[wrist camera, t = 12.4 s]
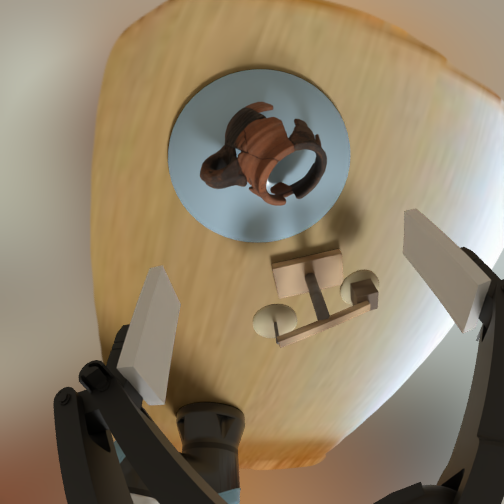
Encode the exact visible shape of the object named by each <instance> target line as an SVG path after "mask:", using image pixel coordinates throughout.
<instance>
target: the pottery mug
mask: <svg viewBox="0 0 504 504" xmlns="http://www.w3.org/2000/svg"><path fill="white" fill-rule="evenodd" d="M269 110H273V105H271V104H268V103H265V102H256V103H252V104H250V105H248V106H246V107H244V108H242V109H241V110H239V111H238V112H237V113H236V114H235V115H234V116H233V117H232V118H231V120H230V121H229V123H228V125H227V129H226V132H225V145H224V146H223V147H222V148H221V149H220V150H219V151H217V152H216V153H214V154H213V155H211V156H209V157H208V158H207V159H206V160H205V161H204V162H203V164H202V167H201V170H200V178H201V180H202V181H204V182H205V183H206V185H208V186H209V187H211V188H214V189H223V188H227V187H230V186H235V185H238V186H241V187H245V186H246V185H247V182H248V183H249V184H250V185H251V187H249V190H250V191H251V192H252V193H254V194H256V195H257V196H259V197H261V198H262V199H263V200H264V201H265V202H266V203H268V204H271V205H274V206H282V205H285V204H286V199H285V197H288V196H290V195H292V194H295V197H296V198H297V199H302V198H303V197H304V196H306V195H307V194H309V193H310V192H311V191H312V190H313V189H314V188H315V187H316V186H317V184H318V183H319V182H320V180H321V177H322V176H323V174H324V172H325V170H326V166H327V156H326V152H325V151H324V150H323V149H322V147H321V140H320V138H319V135H318V134H316V135H315V136H314V134H313V132H312V130H311V129H310V128H309V127H308V126H307V124H306V122H305V121H303V120H300V119H294V123H295V127H294V130H293V132H292V134H291V135H290V137H289V138H288V137H287V133H286V131H285V128H284V125H283V123H282V121H281V120H280V119H278V118H276V117H269V118H266V117H265V116H264V115H263V114H260V113H261V112H264V111H269ZM236 149H238V150H240V151H241V153H239V154H238V157H237V154H236ZM304 149H307V150H312V151H314V152H315V153H316V159H315V163H313V165H312V166H311V168H310V170H309V171H308V173H307V174H306V175H305V176H304V177H303V178H302V179H300V180H299V181H297V182H295V183H294V184H291V185H290V186H289V185H287V184H284V183H282V182H279V183H277V184H275V185H274V186H273V187H271V188H270V191H271V193H272V194H269V193H268V191H267V189H266V184H267V180H268V178H269V175H270V173H271V171H272V170H273V168H274V167H275V166H276V165H277V163H278V162H279V161H281V160H282V159H283V158H284V157H286V156H287V155H289V154H291V153H293V152H294V151H298V150H304ZM273 194H275V195H273Z"/></svg>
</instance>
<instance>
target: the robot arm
mask: <svg viewBox="0 0 504 504" xmlns="http://www.w3.org/2000/svg"><path fill="white" fill-rule="evenodd" d="M403 254H404V256H405V257H406V258H407V259H408V260H409V262H410V263H411V264H412V265H413V267H414V268H415V269H416V270H417V272H418V273H419V274H420V276H421V277H422V278H423V279H424V281H425V282H426V283H427V285H428V286H429V287H430V289H431V290H432V291H433V292H434V294H435V295H436V297H437V298H438V299H439V301H440V302H441V303H442V305H443V306H444V307H445V309H446V310H447V312H448V313H449V314H450V316H451V317H452V319H453V320H454V322H455V323H456V324H457V326H458V327H459V329H460V330H461V332H462V333H465V332H468V331H470V330H472V329H474V328H475V327H476V324H477V322H478V319H480V321H481V322H482V323H483V325H482V327H481V330H480V332H479V334H478V337H477V340H476V341H478V340H479V347H478V353H477V359H476V365H475V371H474V376H473V381H472V385H471V390H470V394H469V399H468V403H467V407H466V411H465V414H464V418H463V421H462V425H461V428H460V432H459V435H458V438H457V441H456V444H455V447H454V450H453V453H452V456H451V458H450V461H449V463H448V465H447V466H446V468H445V470H444V471H443V473H442V475H441V477H440V479H439V481H438V483H437V485H423V486H422V484H421V482H419V483H416V484H414V485H411V486H409V487H406V488H404V489H401V490H398V491H396V492H393V493H391V494H389V495H387V496H386V497H384V498H382V499H381V500H379V501H377V502H375V503H374V504H501V502H502V500H503V497H504V279H503V280H501V279H500V278H499V277H498V276H497V275H496V274H495V273H494V272H493V271H492V270H491V269H490V268H489V267H488V266H487V265H486V264H484V262H483V261H482V260H481V259H479V257H478V256H477V255H476V254H475V253H474V252H473V251H471V250H469V249H467V248H465V247H461V248H459V247H458V246H457V245H456V244H455V243H454V242H453V241H452V240H451V239H450V238H449V237H448V236H447V235H446V234H445V233H443V232H442V231H441V230H440V229H439V228H438V227H437V226H436V225H435V224H433V223H432V222H431V221H430V220H429V219H428V218H427V217H425V216H424V215H423V214H422V213H421V212H420V211H419V210H417V209H411V210H406V211H405V212H404V244H403ZM180 305H181V304H180V302H179V300H178V298H177V295H176V293H175V291H174V289H173V287H172V285H171V283H170V281H169V278H168V276H167V274H166V272H165V270H164V267H163V265H162V266H157V267H153V268H150V269H149V272H148V274H147V277H146V280H145V282H144V285H143V288H142V291H141V294H140V296H139V299H138V302H137V305H136V308H135V311H134V314H133V317H132V320H131V323H130V324H129V325H123V326H122V328H121V329H120V330H119V331H118V333H117V335H116V338H115V340H114V344H113V346H112V351H111V352H110V355H109V358H108V362H107V365H106V366H105V364H104V363H103V362H102V361H98V360H95V361H91V362H89V363H87V364H86V365H85V366H84V367H83V368H82V370H81V371H80V373H79V382H80V383H81V384H82V385H83V386H84V387H85V388H86V389H87V390H84V391H81V392H78V393H77V392H76V391H75V390H74V389H73V388H71V387H66V388H63V389H61V390H60V391H59V392H58V393H57V394H56V396H55V398H54V419H55V430H56V439H57V448H58V455H59V462H60V468H61V474H62V479H63V484H64V490H65V494H66V499H67V502H68V504H239V502H240V490H241V489H240V482H239V464H238V446H239V443H240V440H241V437H242V434H243V431H244V428H245V417H244V415H243V413H242V412H241V411H240V410H238V409H236V408H234V407H231V406H228V405H224V404H219V403H194V404H189V405H186V406H184V407H182V408H181V409H179V411H178V412H177V420H176V423H177V427H178V431H179V434H180V438H181V441H182V445H183V447H182V453H180V452H178V451H177V450H176V448H175V447H174V446H173V445H172V444H171V442H170V441H169V440H168V439H167V438H166V436H165V435H164V434H163V433H162V431H161V430H160V429H159V428H158V426H157V425H156V424H155V422H154V421H153V420H152V418H151V417H150V416H149V414H148V413H147V412H146V410H145V409H144V408H143V407H142V401H143V399H144V400H145V401H146V402H147V404H148V405H164V404H165V399H166V391H167V384H168V377H169V371H170V364H171V358H172V351H173V345H174V339H175V333H176V328H177V322H178V316H179V311H180ZM479 338H480V339H479ZM111 433H112V435H113V436H114V438H115V440H116V441H115V442H113V438H112V435H111Z"/></svg>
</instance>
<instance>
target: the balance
mask: <svg viewBox="0 0 504 504" xmlns="http://www.w3.org/2000/svg"><path fill="white" fill-rule="evenodd" d="M272 269H273V274H274V278H275V282H276V287H277V291H278V295H279V299H281V298H285V297H290V296H294V295H299V294H303V293H307V292H309V293H310V297H311V300H312V303H313V306H314V309H315V312H316V316H317V319H318V321H316V322H314V323H311V324H309V325H306V326H303V327H301V328H298V329H296V330H294V328H295V327H296V325H297V316H296V313H295V311H294V310H293V309H292V308H291V307H289V306H287V305H283V304H271V305H267V306H265V307H263V308H261V309H260V310H258V311H257V312H256V314H255V315H254V317H253V327H254V330H255V331H256V332H257V333H258V334H259V335H261V336H263V337H266V338H276V343H277V344H279V346H280V348H281V347H284V346H287V345H289V344H292V343H294V342H297V341H300V340H302V339H305V338H307V337H310V336H312V335H314V334H317V333H319V332H322V331H324V330H326V329H329V328H331V327H334V326H336V325H338V324H341V323H343V322H345V321H347V320H350V319H352V318H354V317H356V316H358V315H361V314H363V313H365V312H367V311H370V310H373V309H377V307H378V288H379V280H378V278H377V276H376V274H375V273H373V272H372V271H370V270H359V271H356V272H353V273H351V274H350V275H349V276H347V277H346V278H345V280H344V281H343V265H342V253H341V251H340V250H339V249H336V250H331V251H327V252H323V253H318V254H314V255H309V256H305V257H301V258H296V259H292V260H287V261H283V262H278V263H274V264H272ZM337 285H341V287H340V294H341V297H342V299H343V300H344V301H345V302H346V303H348V304H351V305H353V306H352V307H349V308H347V309H345V310H342V311H340V312H338V313H335V314H333V315H331V316H330V315H329V312H328V309H327V307H326V304H325V301H324V298H323V296H322V293H321V290H320V289H325V288H329V287H333V286H337Z"/></svg>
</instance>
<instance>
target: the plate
mask: <svg viewBox="0 0 504 504" xmlns="http://www.w3.org/2000/svg"><path fill="white" fill-rule="evenodd" d="M256 102H265V103H268V104H271V105H273V110H269V111H264V112H261V113H260V114H263V115H264V116H265V117H266V118H269V117H276V118H278V119H280V120H281V121H282V123H283V125H284V128H285V131H286V133H287V137H288V138H289V137H290V135H291V134H292V132H293V130H294V127H295V123H294V119H300V120H303V121H305V122H306V124H307V126H308V127H309V128H310V129H311V130H312V132H313V134H314V136H315V135H316V134H318V135H319V138H320V140H321V147H322V149H323V150H324V151H325V152H326V156H327V166H326V170H325V172H324V174H323V176H322V177H321V180H320V182H319V183H318V184H317V186H316V187H315V188H314V189H313V190H312V191H311V192H310V193H309V194H307V195H306V196H304V197H303V198H302V199H297V198H296V197H295V194H292V195H290V196H288V197H285V199H286V204H285V205H282V206H274V205H271V204H268V203H266V202H265V201H264V200H263V199H262V198H261V197H259V196H257V195H256V194H254V193H252V192H251V191H250V190H249V187H251V185H250V184H249V183H248V182H247V185H246V186H245V187H241V186H238V185H235V186H230V187H227V188H223V189H214V188H211V187H209V186H208V185H206V183H205V182H204V181H202V180H201V178H200V170H201V167H202V164H203V162H204V161H205V160H206V159H207V158H208V157H209V156H211V155H213V154H214V153H216V152H217V151H219V150H220V149H221V148H222V147H223V146H224V145H225V132H226V129H227V125H228V123H229V121H230V120H231V118H232V117H233V116H234V115H235V114H236V113H237V112H238V111H239V110H241V109H242V108H244V107H246V106H248V105H250V104H252V103H256ZM239 153H241V151H240V150H238V149H236V154H237V157H238V154H239ZM315 159H316V153H315V152H314V151H312V150H307V149H304V150H298V151H294V152H293V153H291V154H289V155H287V156H286V157H284V158H283V159H282V160H281V161H279V162H278V163H277V165H276V166H275V167H274V168H273V170H272V171H271V173H270V175H269V178H268V180H267V184H266V189H267V191H268V193H269V194H272V193H271V191H270V188H271V187H273V186H274V185H275V184H277V183H279V182H282V183H284V184H287V185H289V186H290V185H291V184H294V183H295V182H297V181H299V180H300V179H302V178H303V177H304V176H305V175H306V174H307V173H308V171H309V170H310V168H311V166H312V165H313V163H315ZM168 165H169V173H170V177H171V180H172V184H173V186H174V189H175V191H176V194H177V195H178V197H179V199H180V201H181V202H182V204H183V205H184V207H185V208H186V209H187V210H188V212H189V213H190V214H191V215H192V216H193V217H194V218H195V219H196V220H197V221H199V222H200V223H201V224H203V225H204V226H205V227H207V228H208V229H210V230H212V231H214V232H215V233H218V234H220V235H222V236H224V237H228V238H231V239H234V240H239V241H244V242H271V241H277V240H281V239H285V238H288V237H291V236H293V235H296V234H298V233H300V232H302V231H304V230H306V229H308V228H309V227H311V226H312V225H313V224H315V223H316V222H318V221H319V220H320V219H321V218H322V217H323V216H324V215H325V214H326V213H327V212H328V211H329V210H330V209H331V207H332V206H333V205H334V203H335V202H336V200H337V199H338V197H339V196H340V194H341V192H342V190H343V188H344V185H345V182H346V179H347V176H348V171H349V166H350V144H349V138H348V133H347V130H346V128H345V125H344V122H343V120H342V118H341V116H340V114H339V112H338V111H337V109H336V108H335V106H334V105H333V104H332V102H331V101H330V100H329V99H328V98H327V97H326V96H325V95H324V94H323V93H322V92H321V91H320V90H318V89H317V88H316V87H315V86H313V85H312V84H310V83H308V82H307V81H305V80H303V79H301V78H299V77H296V76H294V75H292V74H288V73H285V72H281V71H275V70H267V69H253V70H246V71H240V72H236V73H233V74H229V75H226V76H224V77H222V78H220V79H218V80H215V81H214V82H212V83H211V84H209V85H207V86H206V87H204V88H203V89H202V90H201V91H199V92H198V93H197V94H196V95H195V96H194V97H193V98H192V99H191V100H190V101H189V102H188V104H187V105H186V106H185V108H184V109H183V111H182V112H181V114H180V115H179V117H178V119H177V121H176V123H175V125H174V128H173V131H172V134H171V137H170V143H169V149H168ZM273 195H275V194H273Z"/></svg>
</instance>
